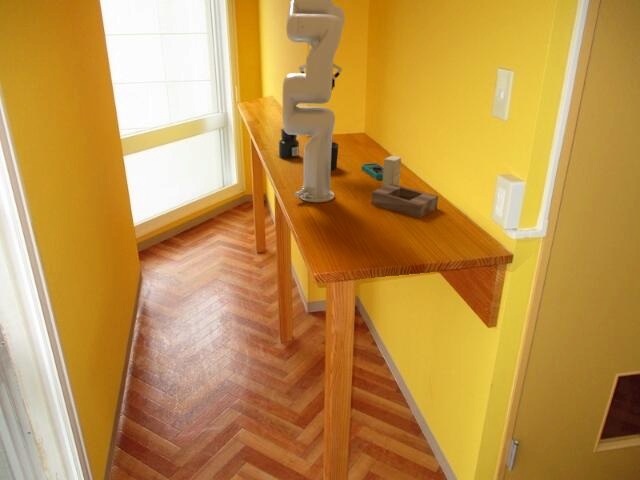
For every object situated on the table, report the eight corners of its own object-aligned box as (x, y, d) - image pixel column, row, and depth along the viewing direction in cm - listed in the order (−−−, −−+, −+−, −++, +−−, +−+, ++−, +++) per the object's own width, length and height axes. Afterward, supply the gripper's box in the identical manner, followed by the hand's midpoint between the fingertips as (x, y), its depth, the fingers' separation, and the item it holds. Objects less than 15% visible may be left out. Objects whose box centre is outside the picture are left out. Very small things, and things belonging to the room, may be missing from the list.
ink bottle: (298, 159, 234) (298, 132, 229) (278, 159, 234) (277, 131, 229) (299, 153, 242) (299, 127, 237) (280, 153, 242) (279, 126, 238)
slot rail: (419, 218, 174) (420, 205, 173) (371, 204, 185) (372, 191, 183) (436, 208, 183) (438, 196, 181) (390, 195, 194) (391, 183, 192)
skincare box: (392, 193, 196) (394, 161, 191) (381, 190, 198) (383, 159, 193) (399, 188, 201) (402, 157, 196) (388, 186, 203) (390, 155, 198)
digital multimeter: (376, 181, 210) (377, 174, 209) (360, 170, 223) (361, 163, 221) (393, 179, 213) (394, 172, 211) (376, 169, 225) (377, 162, 224)
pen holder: (311, 165, 226) (311, 142, 221) (331, 163, 229) (332, 140, 225) (320, 172, 218) (320, 148, 214) (341, 169, 221) (342, 146, 217)
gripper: (299, 44, 207) (298, 90, 214) (343, 45, 208) (341, 90, 215) (299, 43, 214) (298, 87, 221) (342, 44, 215) (340, 88, 222)
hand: (320, 89), depth 218 cm, fingers open, 9 cm apart
